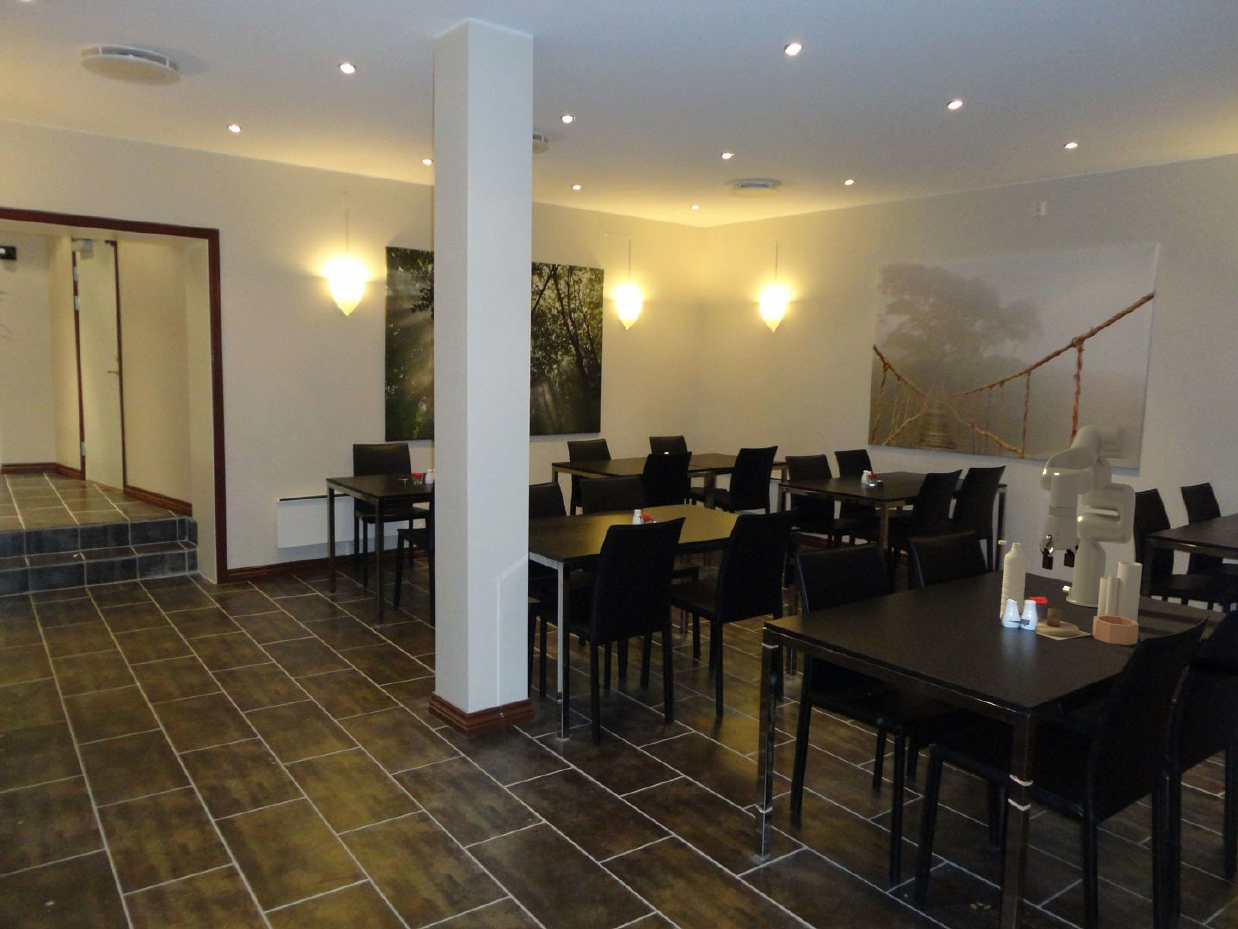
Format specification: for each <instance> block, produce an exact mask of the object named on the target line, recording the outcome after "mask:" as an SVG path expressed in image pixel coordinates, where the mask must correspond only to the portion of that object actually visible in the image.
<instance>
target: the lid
mask: <svg viewBox="0 0 1238 929" xmlns="http://www.w3.org/2000/svg"><path fill="white" fill-rule="evenodd" d="M1061 618H1062V610H1061V609H1060V608H1056V607H1049V608H1047V618H1038V619H1039V621H1038V624H1037V626H1036V627H1035V632H1037V633H1040V634H1044V635H1049V636H1056V637H1075V636H1078V635H1079V631H1080V627H1079V626H1077V625H1076V624H1073V623H1070V622H1065V621H1063V620H1061ZM1037 633H1036V634H1037ZM1040 634H1039V635H1040ZM1044 635H1043V636H1044ZM1075 638H1076V637H1075Z"/></svg>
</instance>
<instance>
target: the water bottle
mask: <svg viewBox="0 0 1238 929" xmlns="http://www.w3.org/2000/svg"><path fill="white" fill-rule="evenodd" d="M1007 544H1008V541H1007V540H998V545H1002V546H1003V545H1004V546H1005V545H1007ZM1021 545H1022V544H1021V543H1020V542H1013V543H1012V545H1011V548H1010V549H1009V550H1008V552H1007V553H1006V554H1005V555H1004V561H1003V575H1002V577H1003V578H1002V585H1001V586H1002V587H1001V600H1000V603H1001V605H1000V613H999V618H1000V619H1001V617H1002V615H1003V613H1004V611H1005V608H1006V601H1007V600H1008V599H1012V600H1014V601H1017V603H1018V608H1019V612H1020V613H1022V614H1023V612H1024V601H1025V587H1026V574H1027V572H1026V571H1027V562H1028V561H1027V560H1028V559H1027V557H1026V554H1025V553H1024V551H1023V549H1022V546H1021Z"/></svg>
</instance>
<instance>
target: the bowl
mask: <svg viewBox="0 0 1238 929" xmlns="http://www.w3.org/2000/svg"><path fill="white" fill-rule="evenodd" d="M1139 626H1140V624H1139V623H1138V621H1137V622H1136V621H1135V620H1132V619H1128V618H1124V617H1120V616H1111V615H1099V616H1097V615H1094V616H1093V623H1092V633H1091V634H1092V636H1093V638H1094V640H1098V641H1101V642H1104V643H1107V644H1112V645H1113V644H1114V645H1123V646H1130V645H1135V644H1138V635H1139V628H1140V627H1139Z"/></svg>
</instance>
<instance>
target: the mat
mask: <svg viewBox="0 0 1238 929" xmlns="http://www.w3.org/2000/svg"><path fill="white" fill-rule="evenodd" d="M1035 634H1037V635H1040V636H1045V637H1047V638H1050V639H1053V640H1056V641H1062V640H1069V639H1074V638H1080V637H1086V636H1091V635H1092V633H1088V632H1086V631H1081V630H1079V635H1078V636H1075V637H1056V636H1049V635H1044V634H1040V633H1037V632H1036V633H1035ZM1092 636H1093V635H1092Z"/></svg>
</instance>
